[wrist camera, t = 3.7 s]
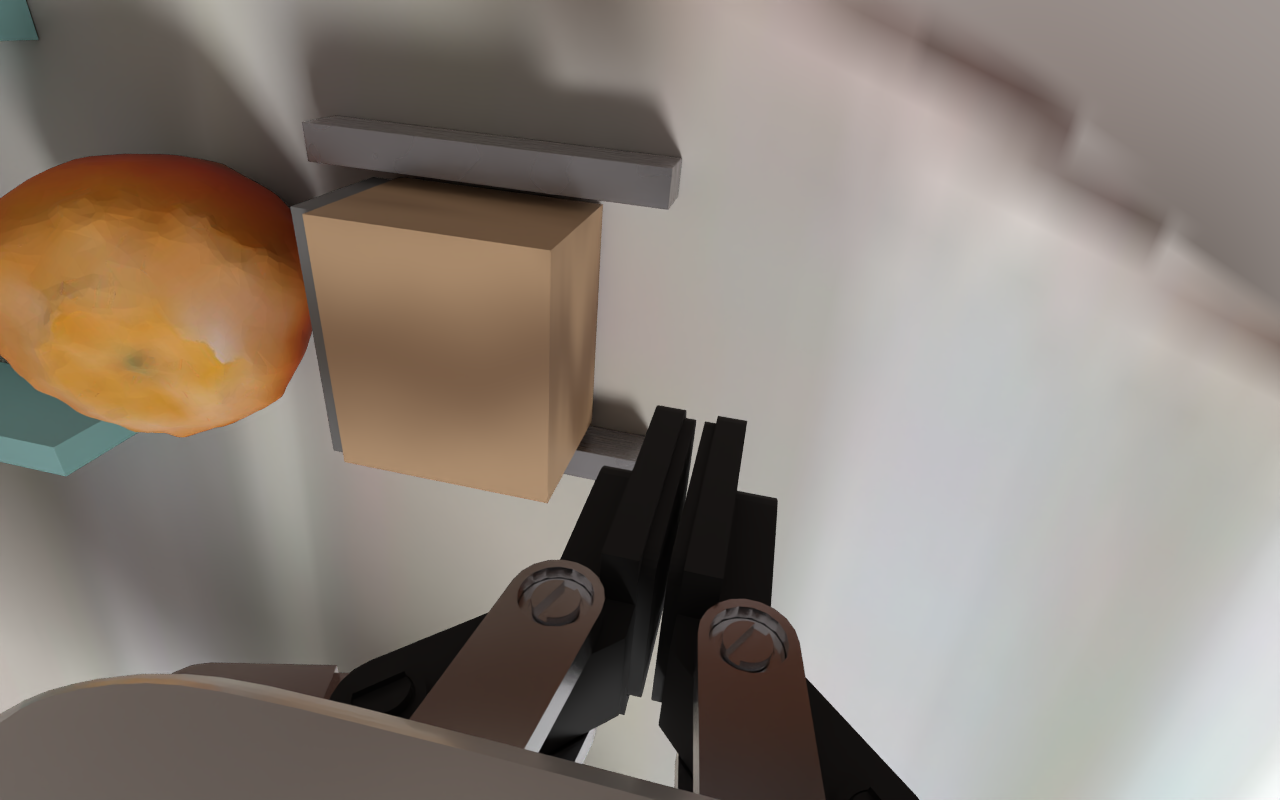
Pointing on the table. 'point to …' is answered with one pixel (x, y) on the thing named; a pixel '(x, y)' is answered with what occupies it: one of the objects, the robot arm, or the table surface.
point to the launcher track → (516, 169)
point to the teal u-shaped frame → (9, 405)
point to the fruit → (151, 291)
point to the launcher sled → (454, 328)
